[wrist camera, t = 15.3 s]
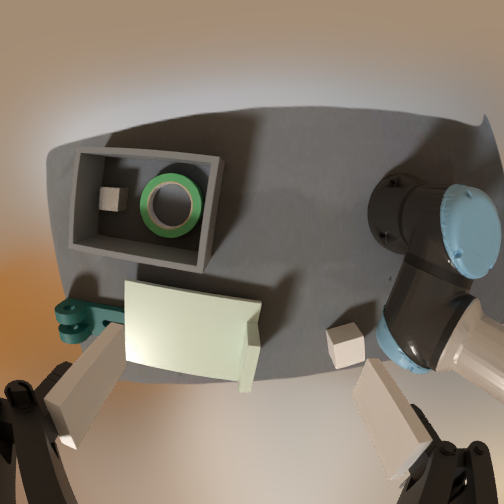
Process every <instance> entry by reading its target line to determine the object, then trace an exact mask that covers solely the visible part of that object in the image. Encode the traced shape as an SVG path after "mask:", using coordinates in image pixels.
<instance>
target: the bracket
mask: <svg viewBox="0 0 504 504" xmlns="http://www.w3.org/2000/svg"><path fill="white" fill-rule="evenodd" d="M55 314H56V319H57V321H58V322H59V323H61V324H60V325H59V333H60V338H61V340H62V341H63V342H65V343H68V344H78V343H81V342H83V341H85V340H86V339H87V338H88V337H89V336H90V335H92V334H93V335H97V336H99V335H100V334H101V333H102V331H103V330H104V329H105V328H106V327H107V326H108V325H109V324H110V323H109V322H108V321H112V322H118V323H124V324H125V308H122V307H116V306H110V305H104V304H98V303H93V302H87V301H82V300H77V299H72V298H67V299H65V300H64V301H62V302H61V303H60V304H58V305H57V306H56V307H55ZM124 335H125V326H124Z"/></svg>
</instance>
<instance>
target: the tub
mask: <svg viewBox="0 0 504 504" xmlns="http://www.w3.org/2000/svg"><path fill="white" fill-rule="evenodd" d="M106 157H118V158H134V159H147V160H158V161H169V162H178V163H187V164H196V165H204V166H211V169H210V175H209V181H208V187H207V194H206V201H205V207H204V214H203V221H202V229H201V236H200V244H199V251H194V250H188V249H182V248H176V247H170V246H164V245H158V244H152V243H146V242H140V241H134V240H128V239H122V238H116V237H110V236H104V235H98V222H99V197H100V187H102V180H103V172H104V165H105V158H106ZM224 167H225V162H224V161H223V160H222V159H221V158H220V157H217V156H209V155H201V154H192V153H183V152H173V151H161V150H148V149H133V148H112V147H77V150H76V157H75V163H74V171H73V179H72V189H71V200H70V216H69V249H73V250H78V251H83V252H88V253H93V254H98V255H103V256H108V257H113V258H118V259H123V260H128V261H134V262H139V263H144V264H150V265H155V266H161V267H167V268H172V269H178V270H184V271H190V272H195V273H201V274H203V272H204V270H205V268H206V267H207V265H208V263H209V261H210V259H211V253H212V245H213V238H214V231H215V224H216V217H217V211H218V204H219V197H220V191H221V185H222V179H223V173H224Z"/></svg>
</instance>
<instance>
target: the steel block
mask: <svg viewBox="0 0 504 504" xmlns="http://www.w3.org/2000/svg"><path fill="white" fill-rule="evenodd" d="M128 190H129V188H123V187H100V197H99V210H108V211H117V212H118V211H122V210H127V200H128Z"/></svg>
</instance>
